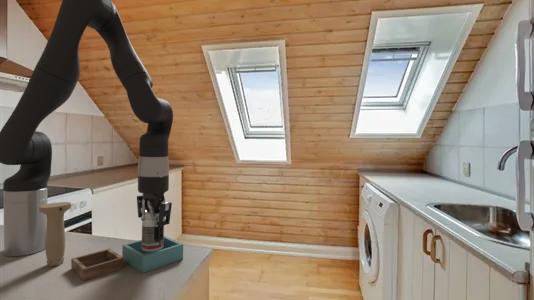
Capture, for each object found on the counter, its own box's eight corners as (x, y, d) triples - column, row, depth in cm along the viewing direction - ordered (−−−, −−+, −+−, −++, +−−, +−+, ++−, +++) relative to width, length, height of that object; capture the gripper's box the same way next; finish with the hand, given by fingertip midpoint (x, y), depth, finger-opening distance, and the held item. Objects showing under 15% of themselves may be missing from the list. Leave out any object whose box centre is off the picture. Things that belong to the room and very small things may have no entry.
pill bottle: (165, 249, 73) (166, 212, 73) (143, 254, 70) (144, 215, 70) (160, 243, 77) (161, 208, 77) (139, 246, 74) (140, 210, 74)
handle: (35, 266, 68) (35, 206, 68) (64, 257, 74) (64, 201, 73) (45, 271, 66) (45, 208, 65) (74, 261, 72) (74, 203, 71)
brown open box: (71, 268, 68) (71, 258, 67) (109, 257, 74) (109, 248, 74) (83, 280, 62) (83, 269, 62) (123, 267, 69) (123, 257, 69)
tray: (122, 259, 73) (122, 244, 73) (161, 248, 82) (161, 234, 81) (142, 273, 66) (142, 256, 66) (183, 259, 75) (183, 244, 74)
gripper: (126, 172, 75) (126, 234, 75) (154, 177, 66) (153, 248, 66) (153, 170, 81) (152, 228, 81) (181, 175, 71) (180, 240, 72)
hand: (152, 237), depth 74 cm, fingers closed on pill bottle, 5 cm apart
